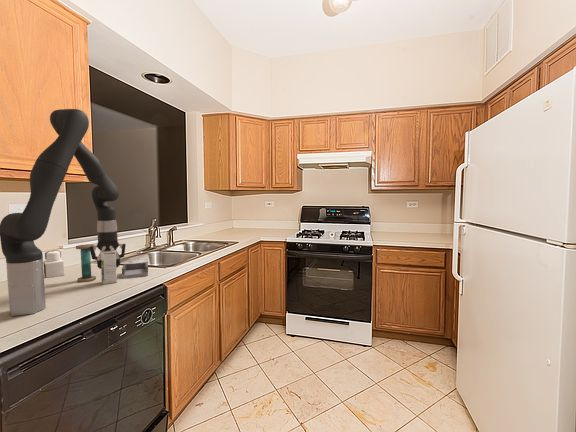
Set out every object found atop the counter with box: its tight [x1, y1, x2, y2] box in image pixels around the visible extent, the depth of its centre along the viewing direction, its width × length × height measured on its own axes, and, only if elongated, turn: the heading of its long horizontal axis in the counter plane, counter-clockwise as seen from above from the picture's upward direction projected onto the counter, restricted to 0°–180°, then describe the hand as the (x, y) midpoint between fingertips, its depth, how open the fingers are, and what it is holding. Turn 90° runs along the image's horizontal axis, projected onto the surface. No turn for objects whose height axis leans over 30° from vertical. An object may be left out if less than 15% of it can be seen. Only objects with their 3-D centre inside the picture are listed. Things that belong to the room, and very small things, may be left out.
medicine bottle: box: [43, 250, 66, 279], centre depth 143 cm, size 7×7×12 cm
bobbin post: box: [75, 243, 97, 283], centre depth 135 cm, size 7×7×16 cm
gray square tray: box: [121, 261, 149, 279], centre depth 145 cm, size 11×11×4 cm
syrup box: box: [100, 249, 118, 285], centre depth 132 cm, size 6×6×14 cm
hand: (109, 267), depth 133 cm, fingers closed on syrup box, 6 cm apart
